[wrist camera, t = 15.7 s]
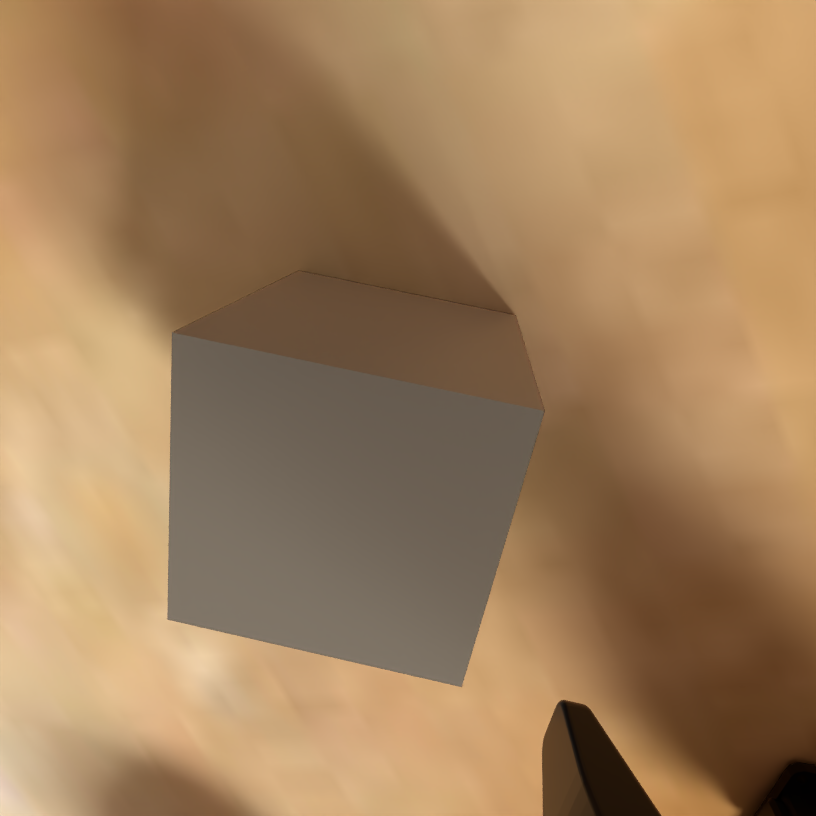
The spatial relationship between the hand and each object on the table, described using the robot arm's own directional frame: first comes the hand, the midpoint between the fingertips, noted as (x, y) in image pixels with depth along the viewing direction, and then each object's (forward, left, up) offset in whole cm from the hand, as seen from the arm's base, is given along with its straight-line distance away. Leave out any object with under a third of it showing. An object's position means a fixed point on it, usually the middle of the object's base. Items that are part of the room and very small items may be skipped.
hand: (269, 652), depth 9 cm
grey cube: (0, +1, -13) cm, 13 cm away
